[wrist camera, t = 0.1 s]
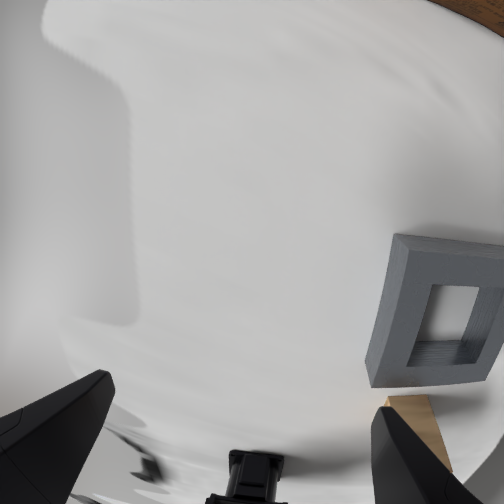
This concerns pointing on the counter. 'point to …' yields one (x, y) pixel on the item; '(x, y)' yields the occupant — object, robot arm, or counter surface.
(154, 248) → the counter surface
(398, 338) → the block
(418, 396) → the oak peg
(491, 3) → the pancake mix bag
